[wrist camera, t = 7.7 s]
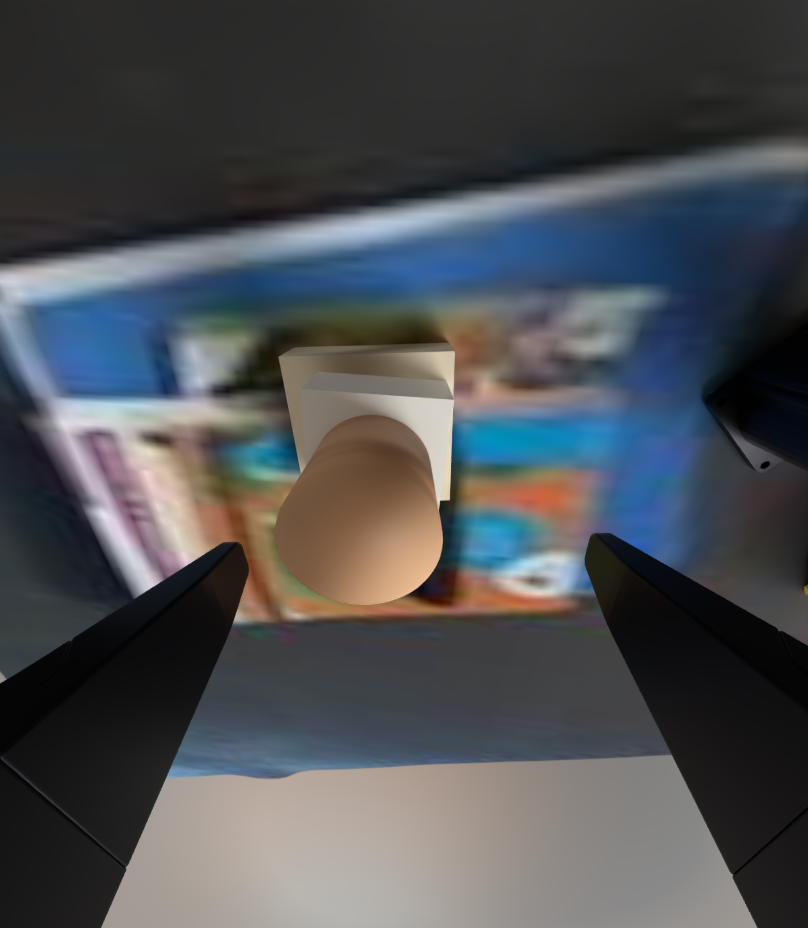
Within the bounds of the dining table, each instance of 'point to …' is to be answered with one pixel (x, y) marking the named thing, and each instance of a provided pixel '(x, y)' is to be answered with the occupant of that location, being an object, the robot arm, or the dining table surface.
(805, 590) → the hamburger
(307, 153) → the dining table surface
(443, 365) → the birch slab
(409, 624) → the dining table surface
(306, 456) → the white block
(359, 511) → the tan cylinder
